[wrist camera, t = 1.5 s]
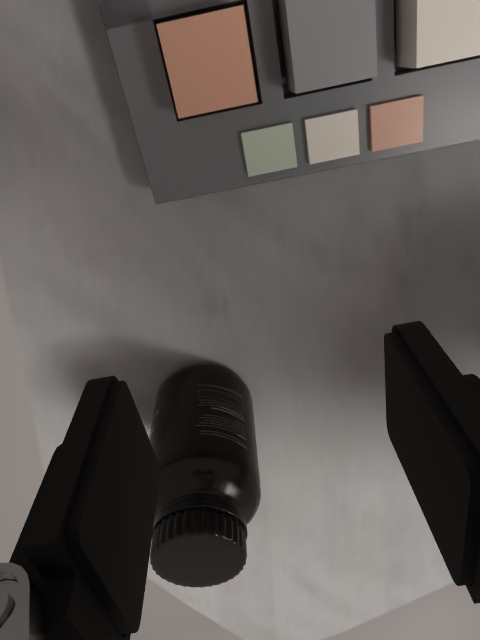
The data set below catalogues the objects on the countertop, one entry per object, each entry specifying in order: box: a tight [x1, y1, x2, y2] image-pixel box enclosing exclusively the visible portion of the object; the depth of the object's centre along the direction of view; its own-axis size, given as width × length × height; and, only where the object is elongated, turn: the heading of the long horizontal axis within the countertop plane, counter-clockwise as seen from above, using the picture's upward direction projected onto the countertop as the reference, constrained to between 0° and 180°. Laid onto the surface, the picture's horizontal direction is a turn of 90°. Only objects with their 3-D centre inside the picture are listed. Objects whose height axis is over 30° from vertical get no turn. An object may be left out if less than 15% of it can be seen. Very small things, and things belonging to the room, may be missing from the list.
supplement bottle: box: [149, 365, 261, 587], centre depth 27 cm, size 7×7×12 cm
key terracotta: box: [156, 5, 258, 118], centre depth 19 cm, size 3×3×2 cm
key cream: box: [395, 0, 480, 68], centre depth 19 cm, size 3×3×2 cm
